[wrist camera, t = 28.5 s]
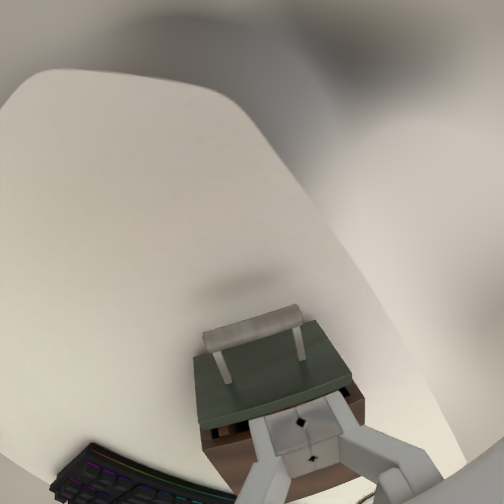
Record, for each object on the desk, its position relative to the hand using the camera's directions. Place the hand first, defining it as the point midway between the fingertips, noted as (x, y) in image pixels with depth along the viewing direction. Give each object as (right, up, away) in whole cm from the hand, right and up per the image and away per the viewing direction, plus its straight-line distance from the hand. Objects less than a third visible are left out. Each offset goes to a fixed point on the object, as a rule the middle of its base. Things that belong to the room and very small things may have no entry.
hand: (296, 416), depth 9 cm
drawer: (0, -6, +20) cm, 21 cm away
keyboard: (-12, -36, +30) cm, 48 cm away
